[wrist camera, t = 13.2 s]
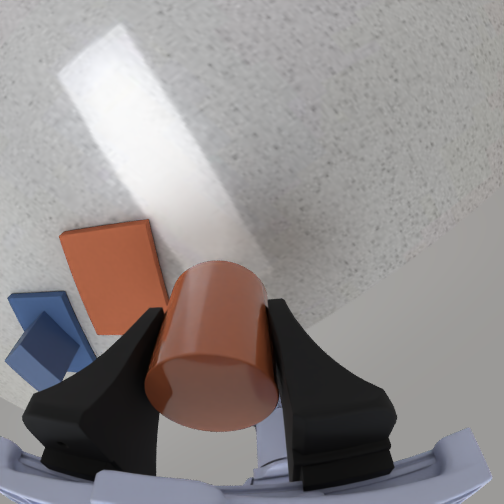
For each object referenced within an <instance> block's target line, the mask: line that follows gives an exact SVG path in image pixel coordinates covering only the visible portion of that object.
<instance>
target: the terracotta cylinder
mask: <svg viewBox="0 0 504 504" xmlns="http://www.w3.org/2000/svg"><path fill="white" fill-rule="evenodd" d="M267 300H268V295H267V291H266V289H265V287H264V285H263V283H262V282H261V280H260V279H259V278H258V277H257V276H256V275H255V274H254V273H253V272H252V271H250V270H249V269H247V268H245V267H243V266H241V265H239V264H236V263H233V262H228V261H207V262H203V263H199V264H197V265H195V266H193V267H191V268H189V269H188V270H186V271H185V272H184V273H183V274H182V275H181V276H180V277H179V278H178V280H177V281H176V283H175V285H174V288H173V291H172V294H171V297H170V300H169V303H168V306H167V309H166V312H165V315H164V318H163V321H162V324H161V328H160V331H159V334H158V337H157V340H156V344H155V347H154V350H153V354H152V357H151V360H150V364H149V367H148V370H147V374H146V377H145V382H144V388H145V393H146V396H147V398H148V400H149V401H150V403H151V404H152V406H153V407H154V408H155V409H156V410H157V411H158V412H159V413H161V414H162V415H163V416H165V417H166V418H168V419H170V420H171V421H174V422H176V423H178V424H180V425H183V426H186V427H189V428H192V429H197V430H202V431H210V432H227V431H236V430H241V429H245V428H248V427H251V426H253V425H256V424H258V423H260V422H262V421H263V420H264V419H266V418H267V417H268V416H269V415H270V414H271V413H272V412H273V411H274V410H275V408H276V406H277V404H278V400H279V388H278V380H277V371H276V362H275V353H274V345H273V338H272V333H271V328H270V322H269V313H268V302H267Z"/></svg>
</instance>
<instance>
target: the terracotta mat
mask: <svg viewBox="0 0 504 504" xmlns="http://www.w3.org/2000/svg"><path fill="white" fill-rule="evenodd" d="M59 238H60V241H61V244H62V247H63V250H64V253H65V256H66V259H67V262H68V265H69V267H70V270H71V273H72V276H73V278H74V281H75V283H76V286H77V289H78V291H79V294H80V296H81V298H82V301H83V303H84V306H85V308H86V310H87V313H88V315H89V317H90V320H91V322H92V324H93V326H94V328H95V331H96V333H97V335H124V334H125V333H126V331H127V330H128V329H129V328H130V327H131V326H132V325H133V324H134V323H135V322H136V321H137V320H138V319H139V318H140V317H141V316H142V315H143V314H144V313H145V312H146V311H147V310H148V309H149V308H153V307H163V310H164V314H165V312H166V309H167V306H168V303H169V299H168V295H167V292H166V288H165V284H164V281H163V277H162V273H161V269H160V265H159V261H158V257H157V253H156V249H155V245H154V241H153V237H152V232H151V228H150V224H149V220H148V219H146V220H139V221H131V222H124V223H117V224H110V225H104V226H97V227H90V228H84V229H78V230H71V231H65V232H63V233H62V234H61V235H60V236H59Z"/></svg>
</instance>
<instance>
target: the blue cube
mask: <svg viewBox="0 0 504 504" xmlns="http://www.w3.org/2000/svg"><path fill="white" fill-rule="evenodd" d="M79 347H80V345H79V344H78V343H77V342H75V341H74V340H73V339H72V338H71V337H70V336H69V335H68V334H67V333H66V332H65V331H64V330H63V329H62V328H61V327H60V326H59V325H58V324H57V323H56V322H55V321H54V320H53V319H52V318H51V317H50V316H49V315H48V314H47V313H46V312H45V311H43V312H42V313H41V314H40V315H39V316H38V317H37V319H36V320H35V321H34V322H33V323H32V324H31V325H30V326H29V327H28V328H27V329H26V330H25V332H24V333H23V335H22V336H21V337H20V339H19V340H18V342H17V343H16V345H15V346H14V348H13V349H12V350H11V352H10V353H9V355H8V356H7V358H6V359H5V362H6V363H7V364H8V365H9V366H10V367H11V368H12V369H13V370H14V371H16V372H17V373H18V374H19V375H20V376H21V377H22V378H23V379H24V380H26V381H27V382H28V383H29V384H30V385H31V386H32V387H34V388H35V389H36V390H37V391H38V392H40V391H42V390H44V389H47V388H49V387H52V386H54V385H56V384H58V383H60V382H62V380H63V378H64V376H65V374H66V372H67V370H68V368H69V366H70V364H71V362H72V360H73V358H74V356H75V354H76V353H77V351H78V349H79Z"/></svg>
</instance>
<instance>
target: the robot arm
mask: <svg viewBox="0 0 504 504" xmlns="http://www.w3.org/2000/svg"><path fill="white" fill-rule="evenodd" d="M267 302H268V313H269V322H270V328H271V333H272V338H273V345H274V353H275V362H276V371H277V380H278V388H279V400H278V404H277V406H276V408H275V410H274V411H273V412H272V413H271V414H270V415H269V416H268V417H267V418H266V419H264V420H263V421H262V422H260V423H258V424H256V425H255V429H256V432H257V455H258V468H257V469H253V472H254V477H252V478H248V479H247V480H246V482H245V483H244V484H243V485H242V486H213V485H212V484H208V483H205V482H201V481H197V480H189V479H181V478H168V477H157V476H156V447H157V432H158V422H159V412H158V411H157V410H156V409H155V408H154V407H153V406H152V404H151V403H150V401H149V400H148V398H147V396H146V393H145V388H144V382H145V377H146V374H147V370H148V367H149V364H150V360H151V357H152V354H153V350H154V347H155V344H156V340H157V337H158V334H159V331H160V328H161V324H162V321H163V318H164V315H165V314H164V310H163V307H153V308H149V309H148V310H147V311H146V312H145V313H144V314H143V315H142V316H141V317H140V318H139V319H138V320H137V321H136V322H135V323H134V324H133V325H132V326H131V327H130V328H129V329H128V330H127V331H126V333H125V334H124V335H123V336H122V337H121V338H120V339H118V340H117V341H116V342H115V343H114V344H113V345H112V346H111V347H110V348H109V349H108V350H107V351H106V352H105V353H103V354H102V355H101V356H100V357H98V358H97V359H96V360H95V361H93V362H92V363H91V364H89V365H88V366H86V367H85V368H83V369H82V370H80V371H79V372H77V373H76V374H74V375H73V376H71V377H69V378H67V379H65V380H64V381H62V382H60V383H58V384H56V385H54V386H52V387H49V388H47V389H44V390H42V391H40V392H37V393H34V394H33V396H32V398H31V400H30V402H29V404H28V406H27V408H26V410H25V412H24V414H23V416H22V420H23V422H24V424H25V426H26V427H27V429H28V430H29V431H30V432H31V433H32V434H33V435H34V436H35V437H36V438H37V439H38V440H39V441H40V442H41V443H42V444H43V445H44V446H45V449H44V452H43V455H42V457H38V456H35V455H32V454H29V453H26V452H23V451H22V450H21V448H20V447H19V446H18V445H17V444H15V443H14V442H12V441H11V440H9V439H6V438H4V437H2V436H0V493H2V494H3V495H4V496H6V497H7V498H9V499H10V500H12V501H14V502H16V503H18V504H460V503H462V502H463V501H465V500H466V499H467V498H469V497H470V496H471V495H473V494H474V493H475V492H477V491H478V490H479V489H481V488H482V487H483V486H484V485H485V484H487V483H488V482H489V481H490V480H492V475H491V472H490V470H489V468H488V465H487V463H486V461H485V459H484V456H483V454H482V452H481V450H480V448H479V445H478V443H477V441H476V439H475V437H474V435H473V433H472V431H471V429H470V428H466V429H463V430H460V431H458V432H456V433H453V434H450V435H448V436H446V437H444V438H442V439H441V440H439V441H438V442H437V443H436V445H435V447H434V448H433V449H432V450H430V451H427V452H424V453H421V454H418V455H415V456H412V457H409V458H406V459H402V460H399V461H396V462H393V460H392V457H391V454H390V451H389V449H390V448H391V444H390V441H389V438H388V437H389V435H390V433H391V431H392V429H393V427H394V425H395V423H396V420H397V415H396V412H395V409H394V406H393V404H392V403H391V401H390V399H389V397H388V396H387V394H386V393H385V391H384V390H383V389H382V388H379V387H377V386H375V385H373V384H371V383H369V382H367V381H364V380H363V379H361V378H359V377H357V376H356V375H354V374H353V373H351V372H350V371H348V370H347V369H345V368H344V367H342V366H341V365H340V364H338V363H337V362H336V361H335V360H333V359H332V358H331V357H330V356H329V355H327V354H326V353H325V352H324V351H323V350H322V349H321V348H320V347H319V346H318V345H317V344H316V343H315V342H314V341H313V340H312V339H311V338H310V336H309V335H308V334H307V333H306V332H305V330H304V329H303V328H302V327H301V325H300V324H299V323H298V321H297V320H296V319H295V317H294V316H293V314H292V313H291V311H290V309H289V308H288V306H287V304H286V302H285V300H284V299H282V298H281V299H270V300H267Z"/></svg>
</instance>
